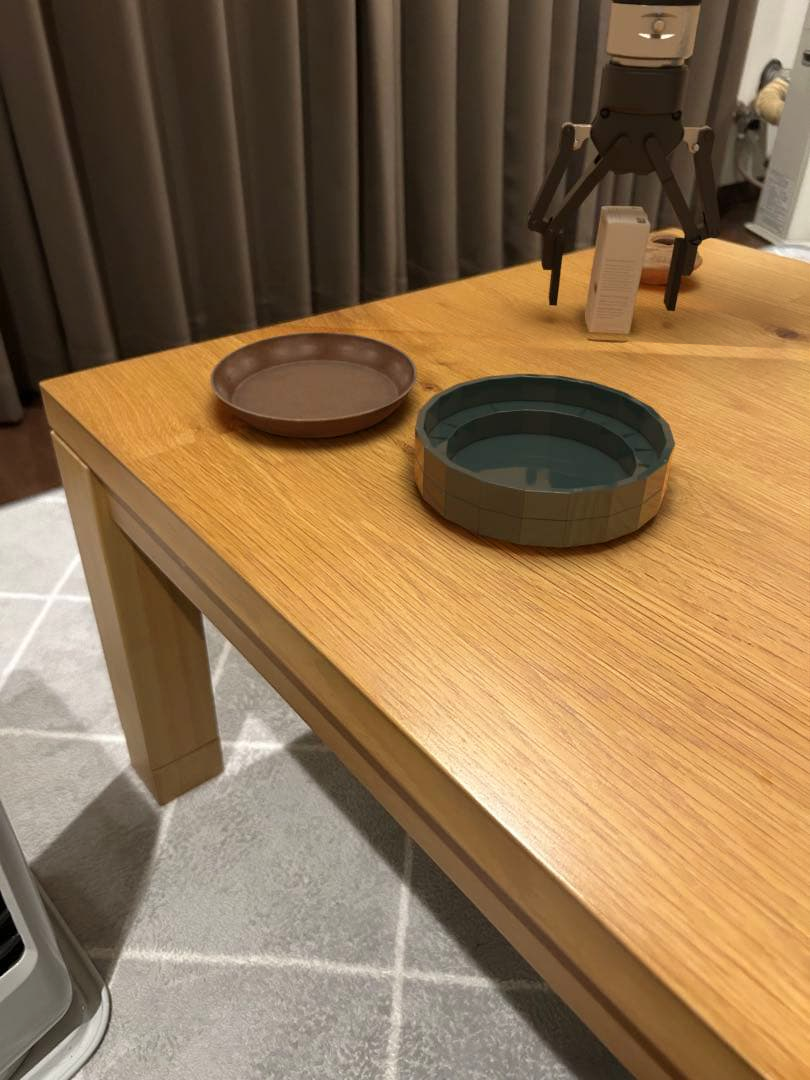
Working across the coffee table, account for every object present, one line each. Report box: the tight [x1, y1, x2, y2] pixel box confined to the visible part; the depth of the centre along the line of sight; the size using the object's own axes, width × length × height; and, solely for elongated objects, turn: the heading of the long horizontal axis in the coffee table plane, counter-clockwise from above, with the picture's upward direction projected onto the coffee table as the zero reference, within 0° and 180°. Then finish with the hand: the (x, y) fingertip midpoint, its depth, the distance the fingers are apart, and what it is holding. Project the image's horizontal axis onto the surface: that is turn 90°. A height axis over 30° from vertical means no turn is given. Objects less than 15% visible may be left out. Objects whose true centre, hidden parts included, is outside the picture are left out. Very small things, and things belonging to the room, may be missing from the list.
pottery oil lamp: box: [639, 231, 704, 286], centre depth 103 cm, size 9×12×7 cm
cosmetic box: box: [584, 205, 652, 344], centre depth 87 cm, size 6×4×12 cm
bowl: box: [413, 373, 676, 548], centre depth 63 cm, size 18×18×5 cm
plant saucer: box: [209, 331, 418, 439], centre depth 75 cm, size 18×18×3 cm
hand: (610, 303), depth 89 cm, fingers open, 11 cm apart
